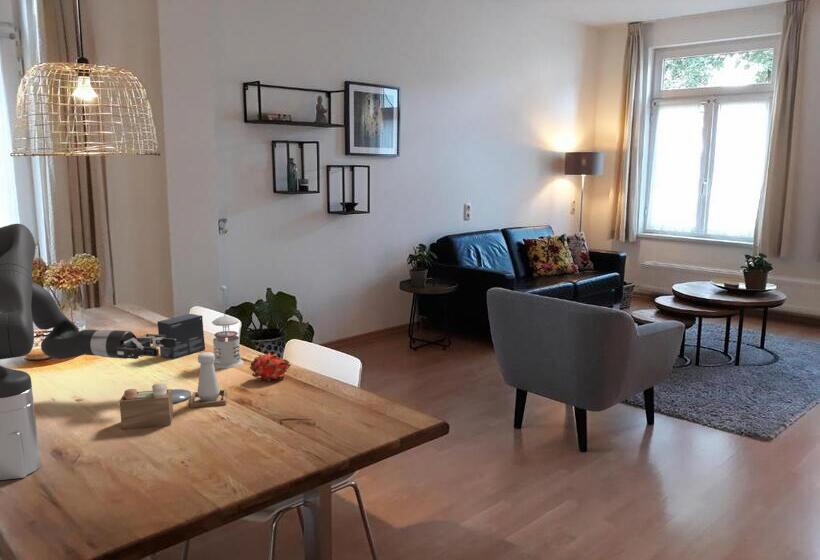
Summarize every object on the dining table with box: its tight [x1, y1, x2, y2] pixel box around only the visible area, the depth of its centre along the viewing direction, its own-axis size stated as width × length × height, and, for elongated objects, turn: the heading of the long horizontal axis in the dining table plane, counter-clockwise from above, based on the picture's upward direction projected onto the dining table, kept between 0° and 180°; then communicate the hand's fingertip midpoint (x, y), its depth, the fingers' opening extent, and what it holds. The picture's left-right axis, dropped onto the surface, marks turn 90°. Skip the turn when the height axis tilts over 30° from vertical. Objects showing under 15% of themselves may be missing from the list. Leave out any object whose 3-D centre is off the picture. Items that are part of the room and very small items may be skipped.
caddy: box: [119, 382, 174, 430], centre depth 160 cm, size 6×11×9 cm, turn 103°
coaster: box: [172, 388, 192, 405], centre depth 177 cm, size 10×10×1 cm
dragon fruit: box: [249, 352, 292, 382], centre depth 191 cm, size 8×8×12 cm
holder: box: [189, 389, 228, 409], centre depth 175 cm, size 9×9×1 cm
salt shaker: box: [196, 351, 221, 402], centre depth 174 cm, size 6×6×13 cm
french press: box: [211, 285, 244, 369], centre depth 205 cm, size 10×12×25 cm
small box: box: [156, 313, 206, 360], centre depth 217 cm, size 13×7×12 cm, turn 146°
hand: (167, 347), depth 175 cm, fingers open, 8 cm apart
